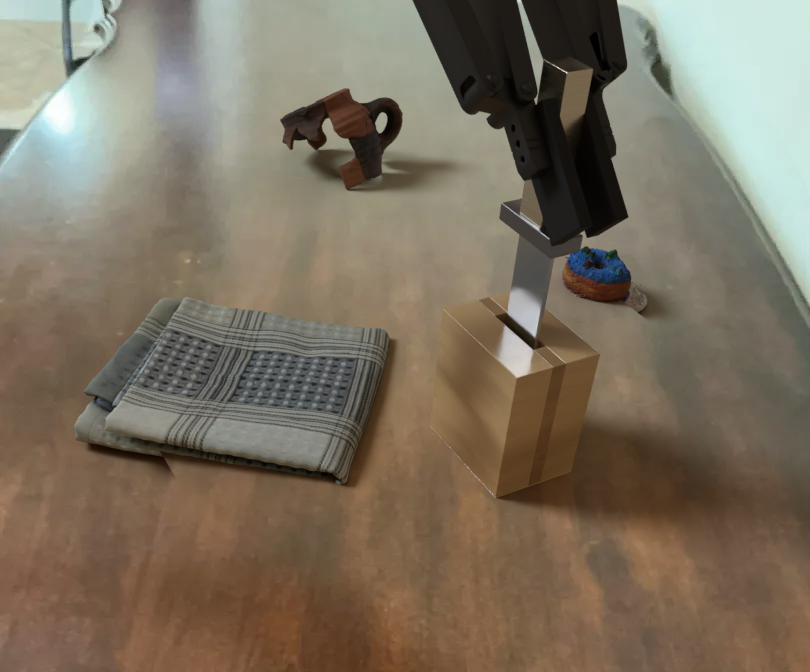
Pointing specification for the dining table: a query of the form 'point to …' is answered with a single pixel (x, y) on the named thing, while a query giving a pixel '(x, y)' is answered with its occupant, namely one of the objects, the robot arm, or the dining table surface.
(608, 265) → the dessert
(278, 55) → the dining table surface
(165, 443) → the dish towel
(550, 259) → the knife
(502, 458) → the knife block
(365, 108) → the brown wooden irregular piece
